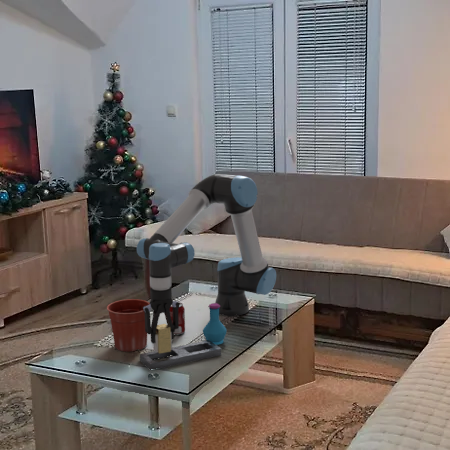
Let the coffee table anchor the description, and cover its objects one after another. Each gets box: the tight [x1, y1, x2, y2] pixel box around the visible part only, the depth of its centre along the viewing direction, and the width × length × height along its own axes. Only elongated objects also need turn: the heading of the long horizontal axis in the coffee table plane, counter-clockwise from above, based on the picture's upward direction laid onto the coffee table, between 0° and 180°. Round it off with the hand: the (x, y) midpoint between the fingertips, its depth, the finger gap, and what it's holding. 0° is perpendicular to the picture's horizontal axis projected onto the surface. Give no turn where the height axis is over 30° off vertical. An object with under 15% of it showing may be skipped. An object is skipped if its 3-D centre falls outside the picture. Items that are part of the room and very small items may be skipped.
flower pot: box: [106, 298, 150, 353], centre depth 267 cm, size 16×16×16 cm
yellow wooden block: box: [156, 323, 171, 354], centre depth 252 cm, size 4×4×9 cm
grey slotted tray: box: [139, 339, 222, 371], centre depth 257 cm, size 28×10×2 cm, turn 118°
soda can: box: [169, 301, 186, 336], centre depth 281 cm, size 7×7×12 cm
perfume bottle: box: [202, 302, 228, 346], centre depth 271 cm, size 9×9×15 cm
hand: (162, 349), depth 253 cm, fingers closed on yellow wooden block, 4 cm apart
